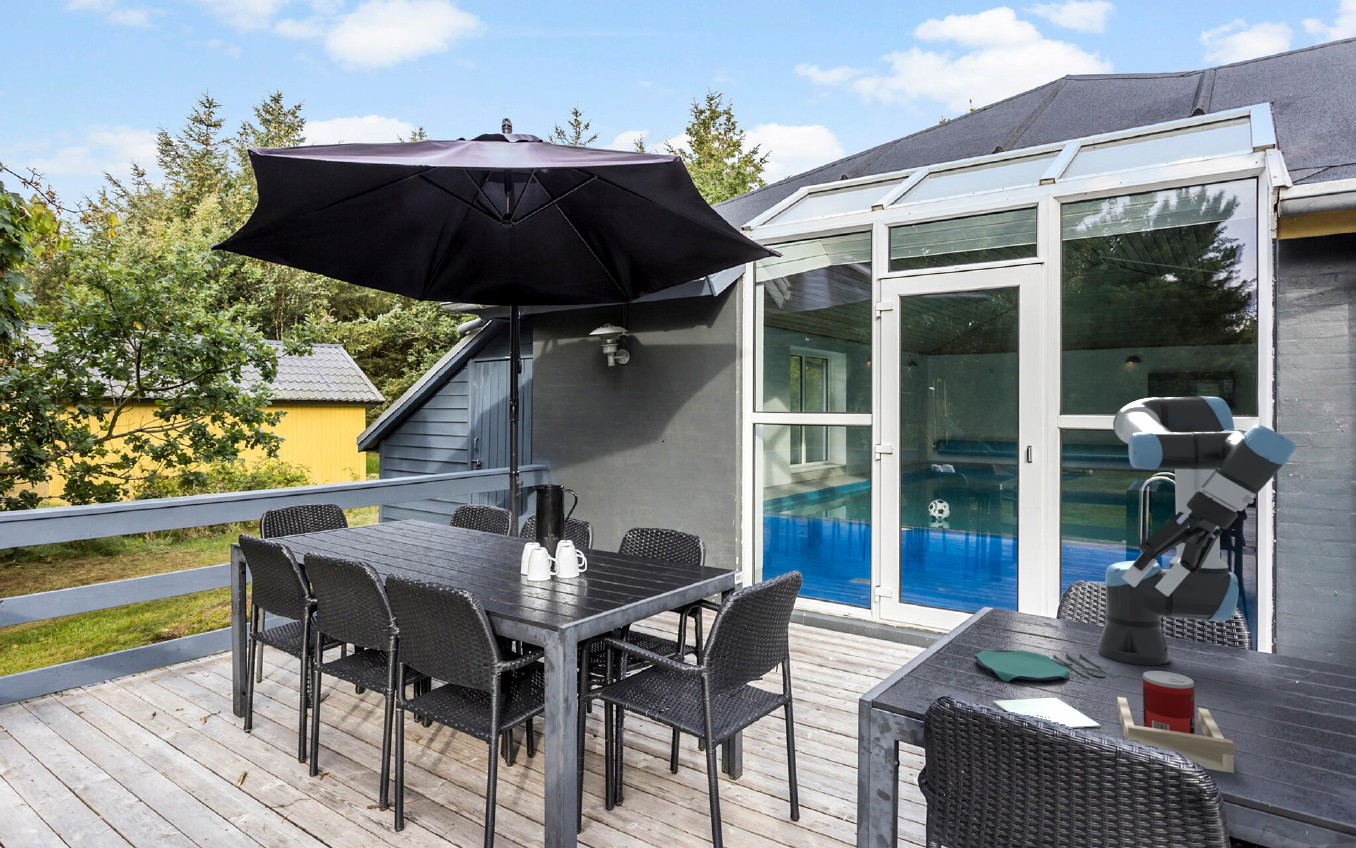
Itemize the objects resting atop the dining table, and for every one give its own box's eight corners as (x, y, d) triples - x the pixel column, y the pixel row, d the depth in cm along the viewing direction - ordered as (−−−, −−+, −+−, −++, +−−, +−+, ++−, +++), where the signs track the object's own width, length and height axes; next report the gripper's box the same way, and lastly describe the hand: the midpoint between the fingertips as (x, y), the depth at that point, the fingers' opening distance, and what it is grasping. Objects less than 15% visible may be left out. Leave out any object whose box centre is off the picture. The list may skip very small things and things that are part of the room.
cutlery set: (962, 657, 182) (962, 648, 182) (1079, 657, 182) (1080, 648, 182) (998, 687, 162) (998, 677, 162) (1130, 687, 162) (1130, 677, 162)
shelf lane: (1117, 711, 147) (1117, 686, 147) (1207, 724, 140) (1207, 698, 140) (1129, 755, 128) (1128, 727, 128) (1234, 773, 121) (1233, 743, 121)
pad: (1056, 699, 153) (1056, 697, 153) (1100, 727, 139) (1100, 725, 139) (993, 702, 152) (993, 701, 152) (1031, 731, 138) (1031, 729, 138)
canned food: (1203, 746, 131) (1202, 686, 131) (1154, 743, 132) (1153, 683, 132) (1182, 729, 138) (1181, 671, 138) (1136, 726, 140) (1135, 669, 140)
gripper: (1208, 499, 126) (1130, 591, 133) (1265, 525, 139) (1191, 608, 146) (1170, 476, 132) (1096, 565, 139) (1228, 502, 145) (1158, 583, 152)
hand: (1145, 587), depth 142 cm, fingers open, 13 cm apart
